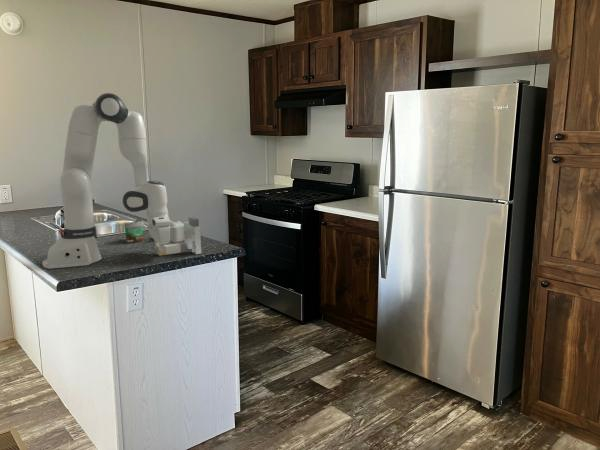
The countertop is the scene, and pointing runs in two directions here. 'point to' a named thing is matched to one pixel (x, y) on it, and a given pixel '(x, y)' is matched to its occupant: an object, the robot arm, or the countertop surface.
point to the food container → (134, 231)
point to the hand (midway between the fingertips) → (159, 250)
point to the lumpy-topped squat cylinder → (176, 231)
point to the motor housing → (192, 235)
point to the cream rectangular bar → (173, 249)
